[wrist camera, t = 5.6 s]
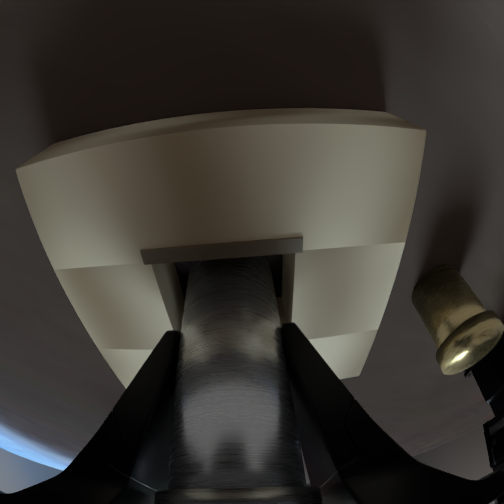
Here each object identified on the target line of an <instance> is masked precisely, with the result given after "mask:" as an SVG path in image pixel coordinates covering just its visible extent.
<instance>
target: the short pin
mask: <svg viewBox="0 0 504 504" xmlns="http://www.w3.org/2000/svg"><path fill="white" fill-rule="evenodd" d="M412 303H413V305H414V306H415V308H416V310H417V312H418V313H419V315H420V317H421V319H422V321H423V322H424V324H425V326H426V328H427V330H428V332H429V333H430V335H431V337H432V339H433V341H434V343H435V345H436V347H437V349H438V350H437V353H436V360H437V362H438V364H439V366H440V368H441V370H442V372H443V374H445V375H453V374H456V373H459V372H462V371H464V370H466V369H468V368H469V367H471V366H473V365H474V364H476V363H477V362H478V361H480V360H481V359H482V358H483V357H484V356H486V355H487V354H488V353H489V352H490V351H491V350H492V349H493V348H494V346H495V345H496V344H497V343H498V341H499V340H500V338H501V336H502V334H503V331H504V325H503V323H502V322H501V320H500V319H499V317H498V316H497V314H496V313H495V312H494V311H491V310H488V311H487V310H486V309H485V307H484V306H483V304H482V303H481V302H480V300H479V299H478V297H477V296H476V295H475V293H474V292H473V290H472V289H471V288H470V286H469V285H468V284H467V282H466V281H465V280H464V278H463V277H462V276H461V275H460V273H459V272H458V271H457V269H456V268H455V267H454V266H451V265H442V266H439V267H436V268H434V269H433V270H431V271H430V272H428V273H427V274H426V275H425V276H423V277H422V279H421V280H420V281H419V282H418V283H417V285H416V287H415V288H414V291H413V293H412Z"/></svg>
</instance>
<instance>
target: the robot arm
mask: <svg viewBox="0 0 504 504" xmlns="http://www.w3.org/2000/svg"><path fill="white" fill-rule="evenodd" d="M281 331H282V337H283V343H284V348H285V354H286V360H287V366H288V372H289V378H290V384H291V390H292V396H293V402H294V408H295V415H296V421H297V427H298V434H299V440H300V444H301V448H302V452H303V456H304V460H305V464H306V468H307V472H308V476H309V480H310V484H311V487H318V488H320V490H321V496H322V503H323V504H504V331H503V334H502V336H501V338H500V340H499V341H498V343H497V344H496V345H495V346H494V348H493V349H492V350H491V351H490V352H489V353H488V354H487V355H486V356H484V357H483V358H482V359H481V360H480V361H478V362H477V363H476V364H474V365H473V366H471V367H469V368H468V370H467V371H466V372H465V373H464V376H465V378H468V377H470V376H474V378H475V380H476V382H477V384H478V386H479V388H480V390H481V392H482V395H483V397H484V399H485V401H486V403H489V404H490V406H491V408H492V411H493V413H494V415H495V416H496V415H497V416H496V417H494V418H493V419H491V420H490V421H487V422H486V423H485V424H483V427H484V435H485V439H486V445H487V450H488V456H489V461H490V467H491V468H492V469H493V471H494V472H492V473H490V474H488V475H487V476H485V477H483V478H481V479H479V480H468V479H465V478H461V477H458V476H455V475H453V474H450V473H447V472H444V471H441V470H439V469H436V468H433V467H430V466H428V465H425V464H423V463H421V462H419V461H418V460H416V459H414V458H413V457H412V456H410V455H409V454H408V453H407V452H406V451H405V450H404V449H403V448H402V447H400V446H399V445H398V444H397V443H396V442H395V441H394V440H393V439H392V438H391V437H390V436H389V435H388V434H387V433H386V432H384V431H383V430H382V429H381V428H380V427H379V426H378V425H377V424H376V423H375V422H374V421H373V420H372V418H371V417H370V416H369V415H368V414H367V413H366V411H365V410H364V409H363V408H362V407H361V405H360V404H359V403H358V402H357V400H354V397H353V396H352V394H351V393H350V392H349V391H348V389H347V388H346V387H345V386H344V384H343V383H342V382H341V380H340V379H339V378H338V377H337V375H336V374H335V373H334V372H333V370H332V369H331V368H330V367H329V365H328V364H327V363H326V362H325V360H324V359H323V358H322V356H321V355H320V354H319V353H318V351H317V350H316V349H315V348H314V346H313V345H312V344H311V343H310V341H309V340H308V339H307V337H306V336H305V335H304V334H303V332H302V331H301V330H300V329H299V327H298V326H297V325H296V324H295V323H294V322H289V323H283V324H282V325H281ZM180 335H181V334H180V332H179V331H178V330H168V331H166V332H165V333H164V335H163V336H162V338H161V339H160V341H159V342H158V343H157V345H156V346H155V348H154V349H153V351H152V352H151V354H150V355H149V356H148V358H147V359H146V361H145V362H144V364H143V365H142V367H141V368H140V370H139V371H138V372H137V374H136V375H135V377H134V378H133V380H132V381H131V383H130V384H129V386H128V387H127V389H126V390H125V392H124V393H123V395H122V396H121V398H120V399H119V401H118V402H117V404H116V405H115V407H114V408H113V410H112V411H113V412H112V411H111V412H110V414H109V415H108V417H107V418H106V420H105V421H104V423H103V424H102V426H101V427H100V428H99V430H98V431H97V432H96V434H95V435H94V436H93V437H92V439H91V440H90V441H89V442H88V444H87V445H86V446H85V447H84V448H83V450H82V451H81V452H80V453H79V454H78V455H77V457H76V458H75V459H74V460H73V461H72V462H71V464H70V465H69V466H68V467H67V468H66V469H65V470H64V471H63V472H61V473H60V474H58V475H57V476H55V477H53V478H51V479H48V480H46V481H43V482H41V483H39V484H36V485H34V486H31V487H29V488H26V489H23V490H21V491H18V492H15V493H11V494H6V493H4V492H2V491H0V504H154V502H155V492H156V491H161V490H168V480H169V458H170V441H171V426H172V413H173V402H174V390H175V380H176V370H177V361H178V352H179V343H180Z"/></svg>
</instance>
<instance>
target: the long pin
mask: <svg viewBox="0 0 504 504" xmlns="http://www.w3.org/2000/svg"><path fill="white" fill-rule="evenodd" d="M154 504H323V503H322V496H321V490H320V488H318V487H308V486H306V480H305V473H304V466H303V460H302V453H301V447H300V440H299V434H298V427H297V421H296V415H295V408H294V402H293V396H292V390H291V384H290V378H289V372H288V366H287V360H286V354H285V348H284V343H283V337H282V331H281V324H280V318H279V313H278V307H277V301H276V295H275V290H274V284H273V279H272V273H271V268H270V265H269V262H268V260H267V259H266V257H265V256H253V257H240V258H227V259H214V260H202V261H192V263H191V266H190V270H189V277H188V283H187V290H186V297H185V304H184V312H183V319H182V327H181V335H180V343H179V352H178V361H177V370H176V380H175V390H174V402H173V413H172V426H171V441H170V458H169V480H168V490H161V491H156V492H155V502H154Z"/></svg>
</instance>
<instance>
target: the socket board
mask: <svg viewBox="0 0 504 504" xmlns="http://www.w3.org/2000/svg"><path fill="white" fill-rule="evenodd" d="M425 138H426V130H424V129H422V128H420V127H418V126H416V125H414V124H412V123H410V122H408V121H405V120H403V119H401V118H399V117H397V116H394V115H392V114H390V113H387V112H380V111H367V110H352V109H329V108H276V109H252V110H237V111H224V112H213V113H204V114H195V115H187V116H179V117H172V118H166V119H159V120H153V121H147V122H142V123H136V124H131V125H126V126H121V127H116V128H112V129H107V130H103V131H99V132H95V133H90V134H86V135H83V136H79V137H75V138H71V139H68V140H64V141H61V142H57V143H54V144H52V145H51V146H49V147H48V148H46V149H45V150H43V151H41V152H40V153H38V154H37V155H35V156H34V157H32V158H31V159H29V160H28V161H26V162H25V163H24V164H22V165H21V166H19V167H18V168H17V169H15V170H16V173H17V176H18V180H19V183H20V186H21V189H22V192H23V195H24V198H25V201H26V204H27V206H28V209H29V212H30V215H31V217H32V220H33V222H34V225H35V228H36V230H37V232H38V235H39V237H40V240H41V242H42V244H43V247H44V249H45V251H46V253H47V256H48V258H49V260H50V262H51V264H52V266H53V269H54V271H55V273H56V275H57V277H58V279H59V281H60V283H61V285H62V287H63V289H64V291H65V293H66V294H67V296H68V298H69V300H70V302H71V304H72V306H73V307H74V309H75V311H76V313H77V314H78V316H79V318H80V320H81V321H82V323H83V325H84V326H85V328H86V330H87V331H88V333H89V335H90V336H91V338H92V340H93V341H94V343H95V344H96V346H97V347H98V349H99V351H100V352H101V354H102V355H103V357H104V358H105V360H106V361H107V363H108V364H109V366H110V367H111V368H112V370H113V371H114V373H115V374H116V376H117V377H118V378H119V380H120V381H121V383H122V384H123V385H124V387H125V388H126V389H127V387H128V386H129V384H130V383H131V381H132V380H133V378H134V377H135V375H136V374H137V372H138V371H139V370H140V368H141V367H142V365H143V364H144V362H145V361H146V359H147V358H148V356H149V355H150V354H151V352H152V351H153V349H154V348H155V346H156V345H157V343H158V342H159V341H160V339H161V338H162V336H163V335H164V333H165V332H166V331H168V330H178V331H179V332H180V334H181V327H182V319H183V312H184V304H185V299H184V296H183V292H182V288H181V285H180V281H179V277H178V273H177V269H176V265H175V262H188V261H202V260H214V259H227V258H240V257H253V256H265V255H278V254H282V297H276V301H277V307H278V313H279V318H280V324H281V325H282V324H283V323H289V322H294V323H295V324H296V325H297V326H298V327H299V329H300V330H301V331H302V332H303V334H304V335H305V336H306V337H307V339H308V340H309V341H310V343H311V344H312V345H313V346H314V348H315V349H316V350H317V351H318V353H319V354H320V355H321V356H322V358H323V359H324V360H325V362H326V363H327V364H328V365H329V367H330V368H331V369H332V370H333V372H334V373H335V374H336V375H337V377H338V378H339V379H344V378H349V377H355V376H359V375H360V373H361V370H362V368H363V366H364V363H365V361H366V358H367V356H368V354H369V351H370V349H371V346H372V344H373V341H374V338H375V336H376V333H377V330H378V328H379V325H380V322H381V320H382V317H383V314H384V311H385V308H386V305H387V302H388V299H389V296H390V293H391V290H392V287H393V284H394V280H395V277H396V274H397V270H398V267H399V264H400V260H401V256H402V253H403V249H404V245H405V242H406V238H407V234H408V230H409V225H410V221H411V217H412V212H413V208H414V203H415V198H416V193H417V188H418V183H419V177H420V172H421V166H422V159H423V153H424V146H425Z"/></svg>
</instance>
